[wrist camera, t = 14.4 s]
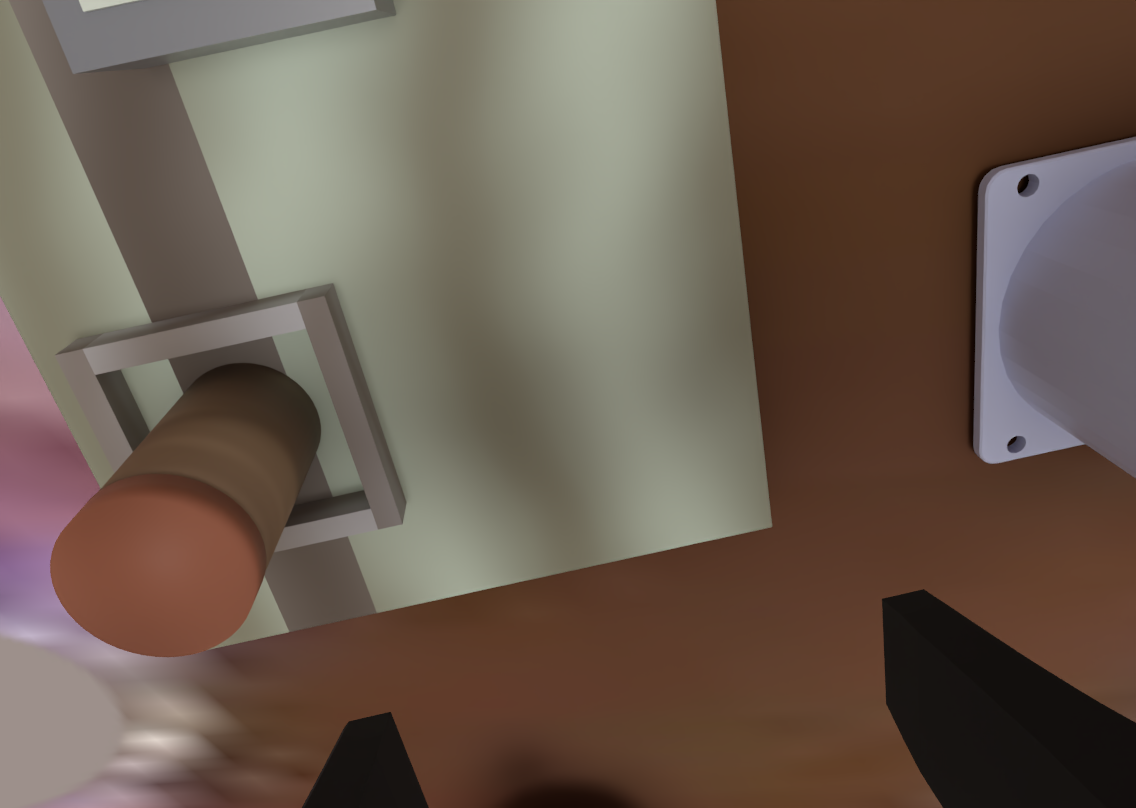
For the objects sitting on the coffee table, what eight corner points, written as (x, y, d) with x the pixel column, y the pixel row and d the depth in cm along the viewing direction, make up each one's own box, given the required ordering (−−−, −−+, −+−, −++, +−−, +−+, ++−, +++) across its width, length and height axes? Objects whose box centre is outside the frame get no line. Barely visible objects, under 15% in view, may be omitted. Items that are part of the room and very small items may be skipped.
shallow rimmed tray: (649, -446, 14) (675, -527, 12) (758, 503, 22) (784, 548, 20) (-237, -250, 14) (-357, -298, 12) (201, 624, 23) (173, 681, 21)
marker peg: (293, 347, 18) (209, 478, 13) (340, 468, 20) (282, 633, 14) (155, 380, 18) (13, 524, 13) (211, 498, 20) (104, 674, 14)
